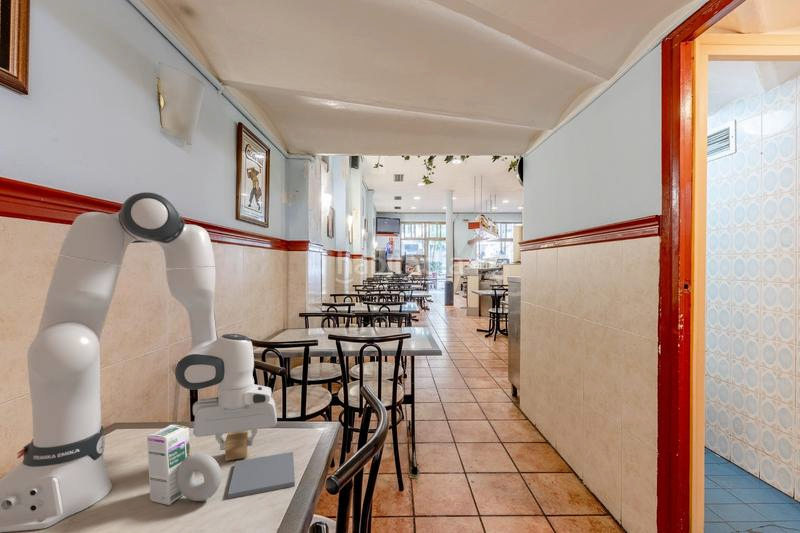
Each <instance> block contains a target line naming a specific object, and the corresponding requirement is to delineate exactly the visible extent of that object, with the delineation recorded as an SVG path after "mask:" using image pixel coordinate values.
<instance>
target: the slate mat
mask: <svg viewBox="0 0 800 533" xmlns="http://www.w3.org/2000/svg"><path fill="white" fill-rule="evenodd" d="M294 461H295V460H294V451H291V452H283V453H277V454H272V455H271V454H270V455H266V456H260V457H254V458H253V457H252V458H248V459H242V460H236V461H235V464H234V467H233V471H232V476H231V480H230V485H229V488H228V493H227V499H234V498H239V497H243V496H244V497H245V496H248V495H249V496H250V495H254V494H259V493H261V494H262V493H265V492H270V491H276V490H281V489H286V488H291V487H295V485H296V482H295V480H296V479H295V465H294V464H295V463H294Z"/></svg>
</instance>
